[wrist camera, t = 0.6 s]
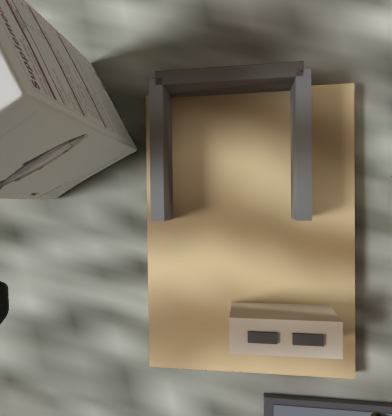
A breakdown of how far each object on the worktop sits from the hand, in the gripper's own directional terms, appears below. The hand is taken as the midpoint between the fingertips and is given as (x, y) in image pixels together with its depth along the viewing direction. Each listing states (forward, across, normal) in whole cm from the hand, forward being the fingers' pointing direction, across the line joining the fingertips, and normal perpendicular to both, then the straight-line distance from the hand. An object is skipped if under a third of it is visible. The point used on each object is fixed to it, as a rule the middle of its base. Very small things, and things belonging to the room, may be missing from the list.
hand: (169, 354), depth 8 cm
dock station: (+15, -1, +3) cm, 15 cm away
